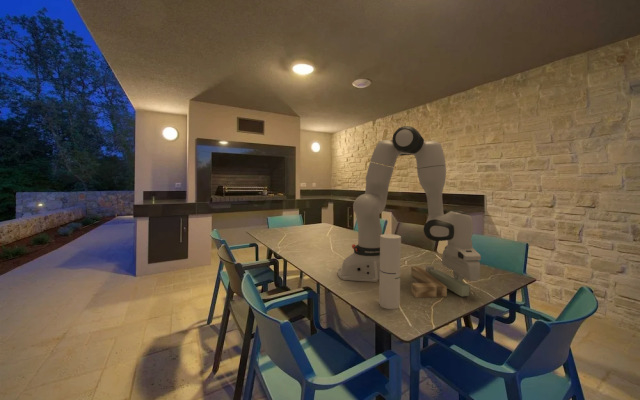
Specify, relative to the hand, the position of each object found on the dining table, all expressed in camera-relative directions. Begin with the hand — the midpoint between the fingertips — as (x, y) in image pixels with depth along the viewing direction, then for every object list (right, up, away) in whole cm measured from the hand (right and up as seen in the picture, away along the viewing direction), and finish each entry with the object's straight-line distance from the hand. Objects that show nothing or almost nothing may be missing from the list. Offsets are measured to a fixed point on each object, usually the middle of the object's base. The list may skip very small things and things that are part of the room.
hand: (458, 283), depth 105 cm
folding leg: (-4, -2, +4) cm, 6 cm away
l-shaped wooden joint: (-14, -2, +5) cm, 15 cm away
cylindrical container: (-32, -4, -13) cm, 35 cm away
